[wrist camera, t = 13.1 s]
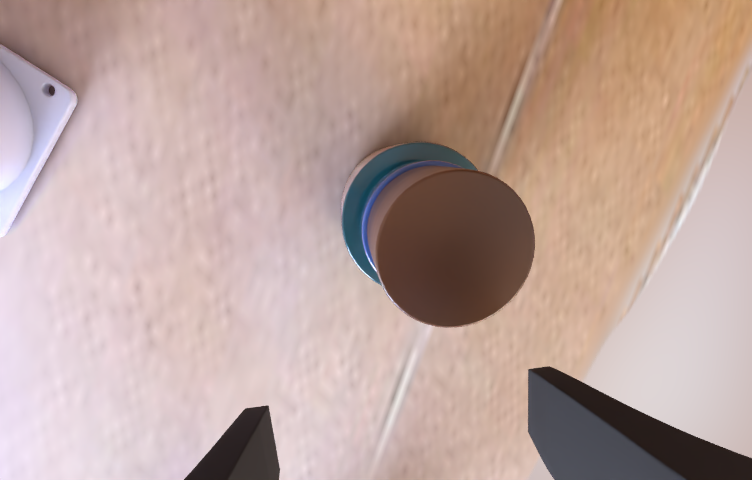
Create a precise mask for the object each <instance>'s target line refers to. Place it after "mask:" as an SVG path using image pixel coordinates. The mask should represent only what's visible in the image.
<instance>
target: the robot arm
mask: <svg viewBox="0 0 752 480" xmlns="http://www.w3.org/2000/svg"><path fill="white" fill-rule="evenodd" d="M51 85H52V86H53V87H54V88H55V94H54V95H53V96H51V95H50V93H49V87H50V86H51ZM77 101H78V100H77V95H76V93H75V92H74V91H73V90H72V89H71V88H69V87H68V86H66V85H65V84H63V83H61V82H60V81H58V80H57V79H55V78H54V77H52V76H50V75H49V74H47V73H46V72H44V71H43V70H41V69H39V68H38V67H36V66H35V65H33V64H31V63H30V62H28V61H27V60H25V59H24V58H22V57H20V56H19V55H17V54H16V53H14V52H12V51H11V50H9V49H8V48H6V47H5V46H3V45H1V44H0V237H2V236H5V234H6V233H7V232H8V230H9V228H10V227H11V225H12V223H13V221H14V219H15V217H16V215H17V214H18V212H19V210H20V208H21V206H22V204H23V203H24V201H25V199H26V197H27V195H28V193H29V192H30V190H31V188H32V186H33V184H34V182H35V180H36V179H37V177H38V175H39V173H40V171H41V169H42V168H43V166H44V164H45V162H46V160H47V158H48V157H49V155H50V153H51V151H52V149H53V147H54V145H55V144H56V142H57V140H58V138H59V136H60V134H61V133H62V131H63V129H64V127H65V125H66V123H67V122H68V120H69V118H70V116H71V114H72V112H73V110H74V109H75V107H76V105H77ZM528 432H529V434H530V436H531V438H532V440H533V442H534V444H535V446H536V448H537V450H538V452H539V454H540V456H541V458H542V460H543V462H544V464H545V465H546V467H547V469H548V470H549V472H550V474H551V475H552V477H553V478H554V479H555V480H752V458H749V457H747V456H744V455H741V454H738V453H736V452H733V451H731V450H728V449H726V448H723V447H720V446H717V445H715V444H713V443H710V442H708V441H705V440H703V439H700V438H698V437H695V436H693V435H691V434H688V433H686V432H683V431H681V430H679V429H676V428H674V427H672V426H670V425H668V424H666V423H663V422H661V421H659V420H657V419H654V418H652V417H650V416H648V415H646V414H644V413H642V412H640V411H638V410H636V409H633V408H632V407H630V406H627V405H626V404H623V403H621V402H619V401H618V400H616V399H614V398H611V397H609V396H608V395H606V394H604V393H602V392H599V391H598V390H596V389H594V388H592V387H590V386H588V385H586V384H584V383H583V382H581V381H579V380H577V379H575V378H573V377H571V376H569V375H567V374H565V373H563V372H561V371H559V370H557V369H554V368H552V367H550V366H549V367H542V368H534V369H528ZM279 473H280V468H279V462H278V457H277V451H276V445H275V440H274V434H273V429H272V423H271V417H270V412H269V406H261V407H254V408H246V409H245V410H244V411H243V412H242V413H241V414H240V415H239V416H238V418H237V419H236V420H235V421H234V422H233V424H232V425H231V426H230V427H229V428H228V429H227V431H226V432H225V433H224V434H223V435H222V437H221V438H220V439H219V440H218V441H217V443H216V444H215V445H214V446H213V447H212V449H211V450H210V451H209V452H208V453H207V454H206V455H205V457H204V458H203V459H202V460H201V461H200V462H199V463H198V465H197V466H196V467H195V468H194V469H193V470H192V472H191V473H190V474H189V475H188V476H187V477H186V478H185V479H184V480H279Z"/></svg>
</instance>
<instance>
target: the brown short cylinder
mask: <svg viewBox="0 0 752 480" xmlns="http://www.w3.org/2000/svg"><path fill="white" fill-rule="evenodd" d="M367 239H368V245H369V249H370V253H371V256H372V259H373V262H374V265H375V268H376V271H377V274H378V277H379V280H380V282H381V285H382V287H383V289H384V290H385V292H386V294H387V296H388V297H389V298H390V299H391V301H392V302H393V303H394V304H395V305H396V306H397V307H398V308H399V309H400V310H401V311H402V312H404V313H405V314H407V315H408V316H410V317H411V318H413V319H415V320H417V321H420V322H422V323H425V324H428V325H432V326H437V327H462V326H468V325H471V324H475V323H478V322H480V321H483V320H485V319H487V318H489V317H491V316H492V315H494V314H496V313H497V312H499V311H500V310H501V309H503V308H504V307H505V306H506V305H507V304H508V303H509V302H510V301H511V300H512V299H513V298H514V297H515V296H516V295H517V293H518V292H519V290H520V289H521V287H522V286H523V284H524V282H525V280H526V279H527V277H528V274H529V271H530V269H531V266H532V262H533V258H534V250H535V236H534V229H533V224H532V221H531V218H530V215H529V213H528V211H527V208H526V206H525V205H524V203H523V202H522V200H521V198H520V197H519V196H518V195H517V194H516V193H515V191H514V190H513V189H511V188H510V187H509V186H508V185H507V184H506V183H504V182H503V181H501V180H500V179H498V178H496V177H494V176H492V175H490V174H487V173H484V172H481V171H477V170H470V169H462V168H454V167H445V166H423V167H418V168H414V169H411V170H409V171H406V172H404V173H402V174H401V175H399V176H397V177H396V178H395V179H393V180H392V181H391V182H389V183H388V184H387V185H386V186H385V187H384V188H383V190H382V191H381V192H380V194H379V195H378V197H377V198H376V200H375V202H374V204H373V206H372V208H371V211H370V214H369V218H368V224H367Z"/></svg>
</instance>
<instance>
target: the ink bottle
mask: <svg viewBox="0 0 752 480" xmlns="http://www.w3.org/2000/svg"><path fill="white" fill-rule="evenodd" d="M423 166H445V167H454V168H462V169H470V170H477V168H476V167H475V166H474V165H473V164H472V163H471V162H470V161H469V160H468V159H467V158H465V157H464V156H463V155H461V154H460V153H458V152H457V151H455V150H453V149H451V148H449V147H446V146H443V145H440V144H436V143H430V142H411V143H404V144H398V145H392V146H388V147H385V148H382V149H380V150H377V151H375V152H374V153H372V154H370V155H369V156H367V157H366V158H365V159H364V160H362V161H361V162H360V163H359V164H358V165H357V167H356V168H355V169H354V170H353V172H352V173H351V175H350V177H349V178H348V180H347V183H346V185H345V187H344V191H343V195H342V202H341V218H342V231H343V237H344V240H345V244H346V247H347V249H348V251H349V254H350V255H351V257H352V259H353V260H354V262H355V263H356V265H357V266H358V267H359V268H360V270H361V271H362V272H363V273H364V274H366V275H367V276H368V277H369V278H370V279H372V280H373V281H375V282H376V283H378V284H380V285H381V282H380V280H379V277H378V274H377V271H376V268H375V265H374V262H373V259H372V256H371V253H370V249H369V245H368V239H367V224H368V218H369V214H370V211H371V208H372V206H373V204H374V202H375V200H376V198H377V197H378V195H379V194H380V192H381V191H382V190H383V188H384V187H385V186H386V185H387V184H388V183H389V182H391V181H392V180H393V179H395V178H396V177H397V176H399V175H401V174H402V173H404V172H406V171H409V170H411V169H414V168H418V167H423ZM477 171H478V170H477Z"/></svg>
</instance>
